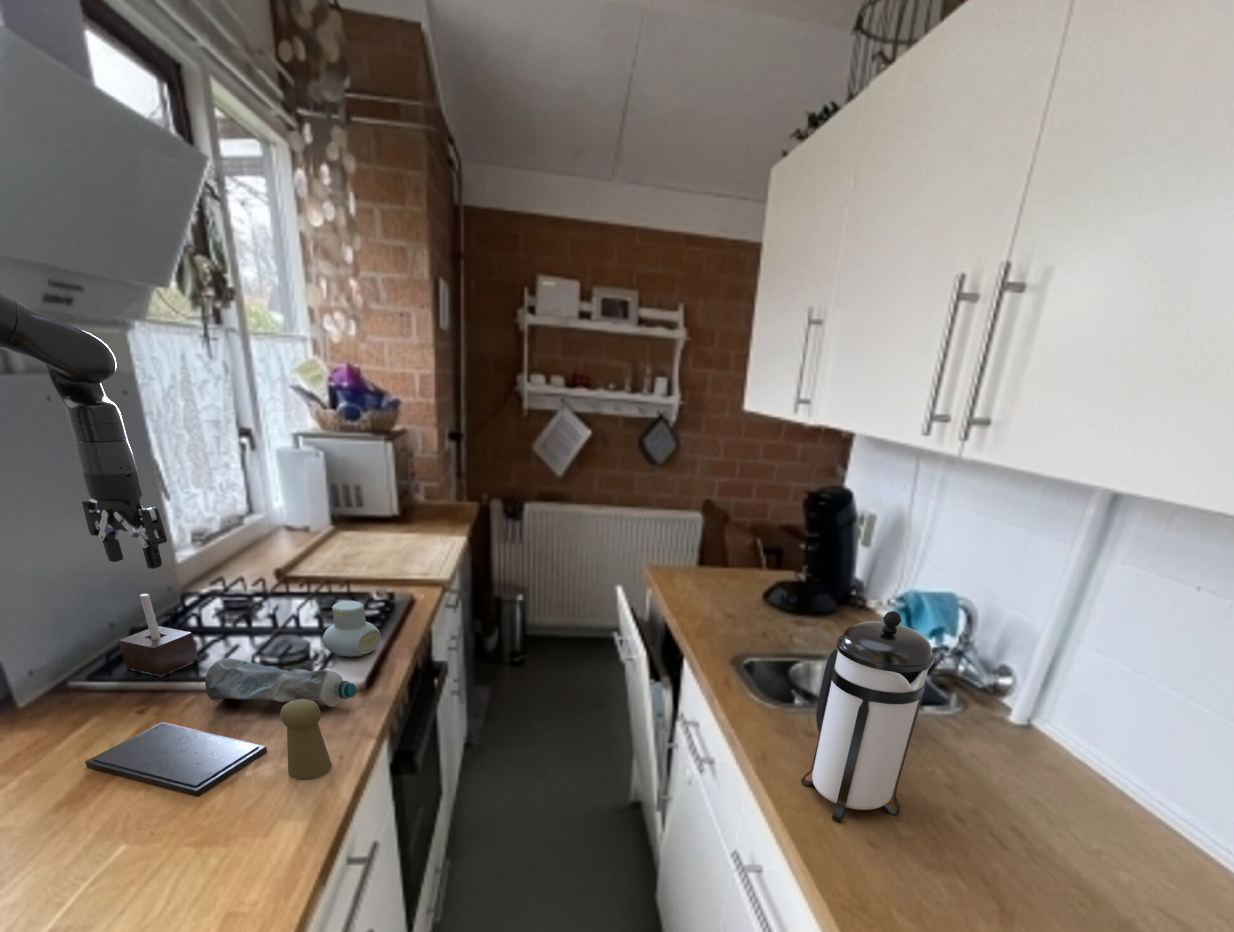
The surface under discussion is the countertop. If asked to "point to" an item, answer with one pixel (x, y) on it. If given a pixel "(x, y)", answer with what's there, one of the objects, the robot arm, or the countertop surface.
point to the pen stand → (158, 650)
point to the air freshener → (350, 631)
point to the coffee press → (868, 713)
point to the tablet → (177, 758)
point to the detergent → (274, 683)
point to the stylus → (150, 616)
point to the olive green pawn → (304, 740)
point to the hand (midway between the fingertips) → (135, 564)
